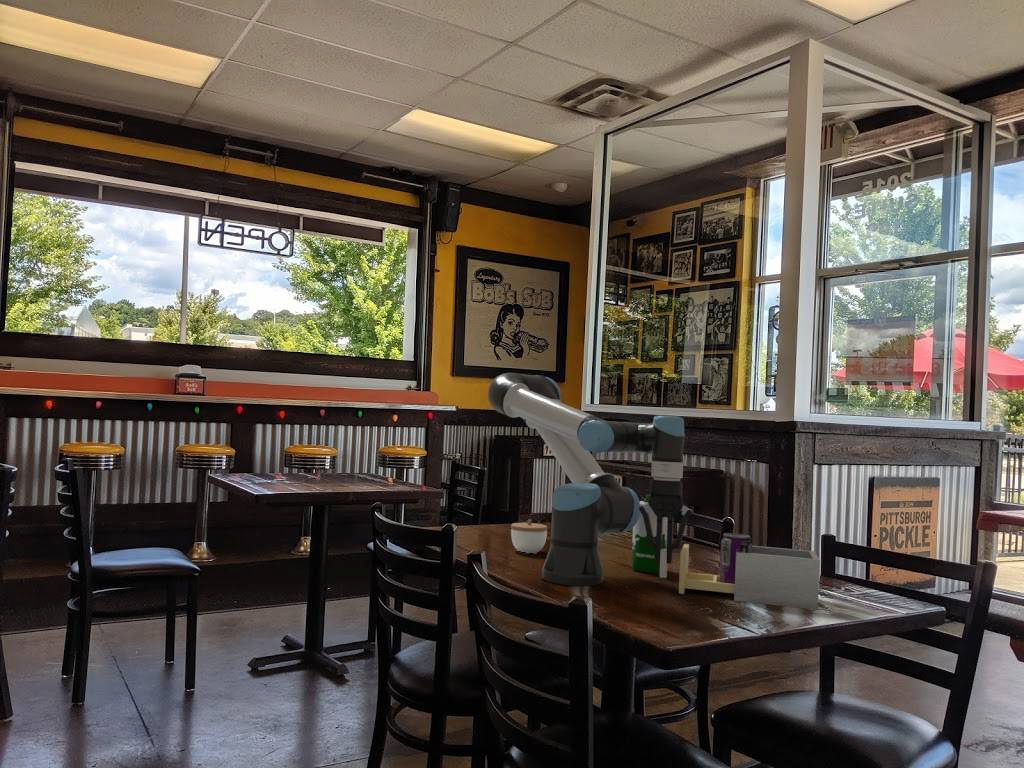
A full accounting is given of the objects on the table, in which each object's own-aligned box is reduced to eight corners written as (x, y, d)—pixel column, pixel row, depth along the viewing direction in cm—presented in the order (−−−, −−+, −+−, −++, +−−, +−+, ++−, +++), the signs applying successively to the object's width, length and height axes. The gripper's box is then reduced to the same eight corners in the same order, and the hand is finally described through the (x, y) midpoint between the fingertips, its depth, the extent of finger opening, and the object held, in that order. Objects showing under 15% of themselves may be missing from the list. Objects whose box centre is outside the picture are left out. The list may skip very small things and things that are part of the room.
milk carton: (667, 569, 221) (670, 495, 221) (660, 574, 212) (664, 498, 213) (635, 565, 224) (639, 493, 225) (628, 570, 216) (631, 495, 216)
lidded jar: (507, 548, 242) (509, 516, 243) (543, 549, 243) (544, 518, 244) (511, 554, 232) (513, 521, 232) (548, 555, 233) (550, 522, 233)
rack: (678, 593, 189) (680, 551, 189) (682, 582, 202) (684, 543, 202) (759, 602, 184) (761, 559, 184) (757, 590, 197) (759, 550, 197)
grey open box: (734, 600, 185) (736, 552, 186) (734, 589, 198) (736, 544, 199) (817, 609, 180) (819, 560, 181) (812, 597, 194) (814, 551, 194)
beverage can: (751, 590, 188) (753, 538, 188) (720, 587, 189) (722, 535, 190) (748, 584, 195) (750, 534, 195) (718, 581, 196) (720, 531, 196)
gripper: (638, 478, 196) (634, 576, 194) (693, 481, 192) (689, 582, 191) (641, 476, 203) (638, 571, 202) (694, 480, 199) (691, 576, 198)
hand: (663, 576), depth 196 cm, fingers closed
